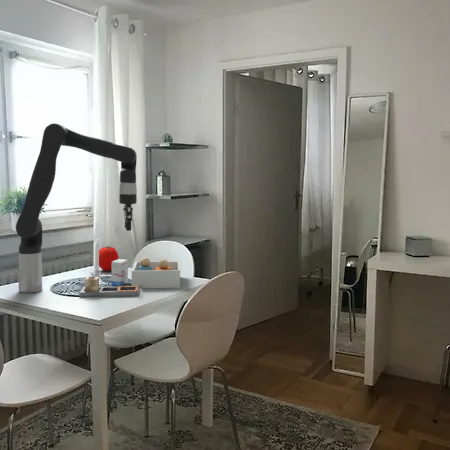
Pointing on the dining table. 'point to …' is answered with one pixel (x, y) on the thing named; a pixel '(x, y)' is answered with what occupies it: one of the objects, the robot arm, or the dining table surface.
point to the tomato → (107, 257)
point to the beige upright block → (92, 284)
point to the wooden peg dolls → (145, 266)
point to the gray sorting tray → (111, 292)
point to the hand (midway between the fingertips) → (128, 229)
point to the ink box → (119, 272)
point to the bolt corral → (157, 276)
